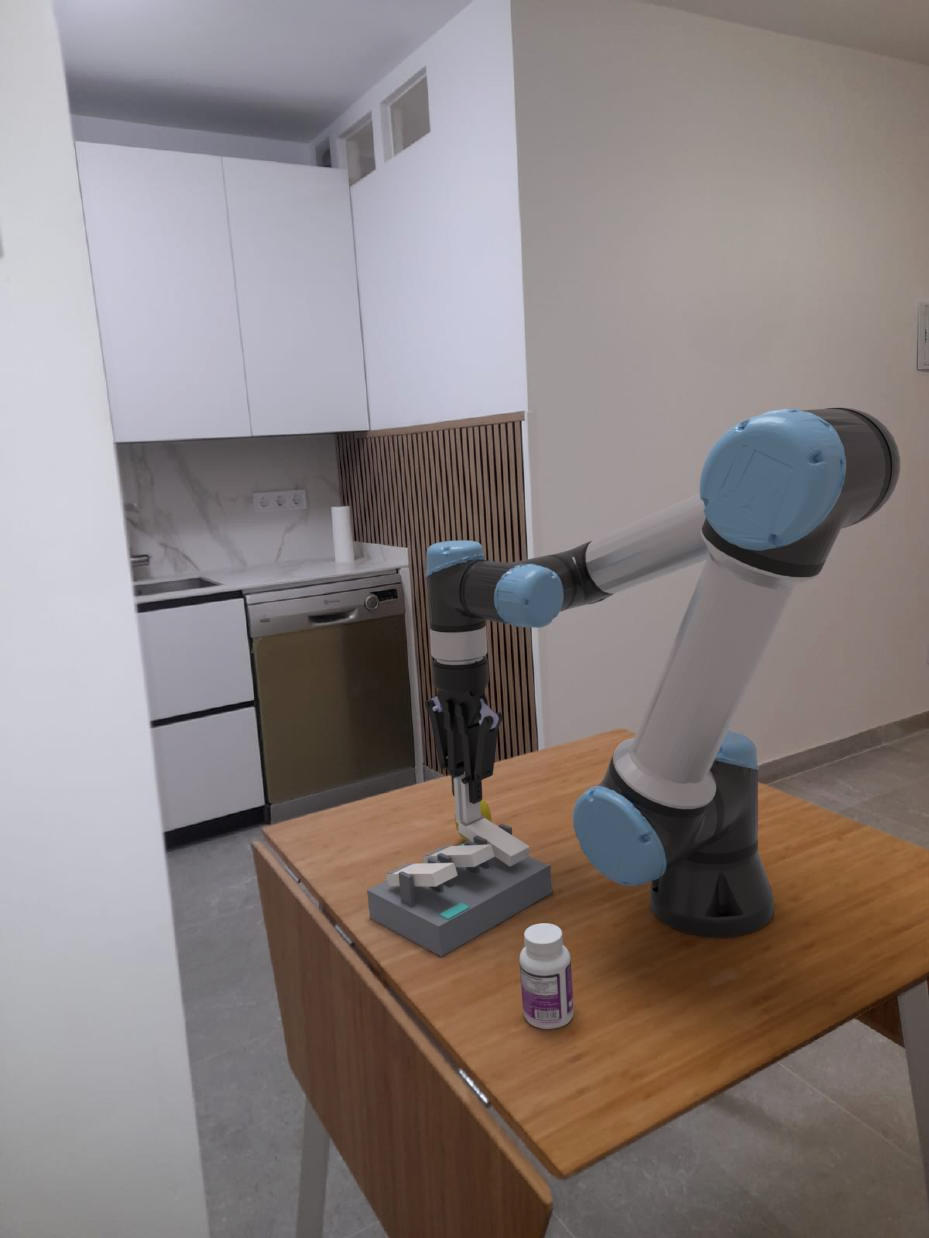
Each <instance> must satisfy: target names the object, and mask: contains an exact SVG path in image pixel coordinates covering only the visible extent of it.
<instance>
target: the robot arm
mask: <svg viewBox="0 0 929 1238" xmlns="http://www.w3.org/2000/svg"><path fill="white" fill-rule="evenodd" d="M896 442H897V441H896V440H895V437H894V436H893V434H892V433H891V432H890V430H889V429H888V427H887V426H885V424H883V423H882V421H880V420H879V419H878V418H876V417H874V416H873V415H871V414H870V413H867V412H866V411H865V412H864V411H861V410H858V409H855V408H849V407H828V408H819V409H818V408H817V409H804V410H803V409H802V410H801V409H797V408H796V409H795V408H783V409H776V410H771V411H767V412H764V413H760V415H756V416H752V417H749V418H747V419H744V420H742V421H740V422H738V423H737V424H735V425H734V426H732V427H730V428H729V429H728V430H727V431H726V432H725V433H723V434H722V435H721V437H720V438H719V439H718V440H717V441H716V443H714V445H713V446H712V448H711V450H710V451H709V452H708V454H707V457H706V459H705V461H704V463H703V466H702V470H701V472H700V474H701V475H700V478H699V493H697V494H693V495H692V496H689V497H688V498H684V499H682V500H681V501H678V502H676V503H673V504H671V505H669V506H667V507H664V508H662V509H660V510H657V511H656V512H654V513H651V514H648V515H647V516H644V517H642V518H640V519H637V520H635V521H633V522H630V523H628V524H626V525H624V526H622V527H620V528H617V529H615V530H612V531H610V532H607V533H606V534H603V535H601V536H599V537H596V538H594V539H592V540H590V541H587V542H585V543H583V544H581V545H578V546H576V547H574V548H571V549H568V550H565V551H562V552H557V553H553V554H547V555H543V556H537V557H532V558H529V559H523V560H519V561H512V562H503V561H491V560H486V559H485V554H484V549H483V546H482V544H481V543H480V542H478V541H474V540H465V539H464V540H446V541H440V542H436V543H434V544H433V543H432V545H430V546H429V547H427V551H426V555H425V556H426V557H425V558H426V562H425V563H426V566H425V567H426V571H425V572H426V573H425V579H426V589H427V603H428V616H429V617H428V618H429V635H430V637H429V640H430V641H429V642H430V656H432V658H434V659H433V661H432V662H431V667H432V684H433V687H434V688H435V689H437V691H436V696H435V697H433V698H430V699H426V700H425V701H424V705H425V708H426V711H427V712H428V715H429V717H430V722H431V728H432V732H433V737H434V738H433V739H434V744H435V748H436V753H437V758H438V764H439V767H440V768H441V769H442V770H444V769H446V770H447V771H448V775H449V776H450V777H451V788H452V789H451V791H452V796H453V797H454V809H455V813H456V822H457V823H459V822H460V821H462V820H463V822H465V823H466V824H468V823H470V822H472V821H474V820H477V819H479V818H481V807H480V801H482V799H483V780H486V779H487V778H491V777H492V776H493V774H494V770H495V769H494V767H495V759H496V753H497V752H496V751H497V749H496V748H497V742H498V741H497V740H498V732H499V727H500V725H501V723H502V721H503V715H502V714H503V713H501V712H499V711H498V712H494V711H493V710H492V709H491V708H490V707H489V701H488V698H487V695H486V688H487V686H488V685H489V682H490V673H489V660H488V658H487V656H486V655H487V654H488V642H487V641H488V640H487V639H488V638H487V637H488V636H487V621H489V622H495V623H501V624H504V625H511V626H513V627H517V628H521V629H522V628H524V629H525V628H534V629H535V628H537V629H540V628H544V627H547V626H549V625H550V624H551V623H553V622H552V621H553V620H554V619H555V618H557V617H558V616H559V614H560V613H561V612H564V611H566V610H570V609H574V608H579V607H582V606H585V605H593V604H596V603H600V602H603V601H605V600H607V599H608V598H610V597H612V596H613V595H614V594H617V593H620V592H623V591H626V590H628V589H630V588H634V587H636V586H638V585H642V584H645V583H648V582H650V581H652V580H655V579H658V578H661V577H663V576H666V575H669V574H672V573H674V572H677V571H680V570H683V569H685V568H688V567H690V566H694V565H696V564H699V563H702V562H704V561H705V562H704V564H703V565H704V566H703V568H702V570H701V572H700V575H699V577H698V581H697V582H696V584H695V588H694V590H693V592H692V595H691V597H690V600H689V602H688V605H687V608H686V610H685V612H684V615H683V617H682V619H681V622H680V625H679V627H678V630H677V633H676V634H675V637H674V639H673V643H672V645H671V646H670V647H671V648H670V649H669V651H668V655H667V657H666V659H665V662H664V664H663V667H662V670H661V672H660V675H659V677H658V679H657V682H656V684H655V686H654V689H653V692H652V694H651V697H650V699H649V701H648V703H647V707H646V709H645V712H644V713H643V716H642V719H641V721H640V724H639V726H638V729H637V730H636V731H637V732H636V734H635V736H634V737H630V738H626V739H625V740H623V741H621V742H620V743H619V744H618V745H617V746H616V748H615V749H614V752H613V754H612V756H611V758H610V760H609V764H608V766H607V768H606V772H605V774H604V776H603V778H602V780H601V782H599V784H598V785H594V786H591V787H588V788H587V789H586V790H585V791H584V792H583V793H582V794H581V795H580V796H579V797H578V799H577V800H576V802H575V804H574V807H573V813H572V824H573V825H572V826H573V830H574V833H575V837H576V838H577V839H576V840H578V842H579V845H580V849H581V851H582V852H583V854H584V856H585V857H586V858H587V859H588V861H589V863H590V864H591V865H592V866H593V867H594V868H595V869H596V870H597V871H598V872H599V873H600V874H602V875H603V876H604V877H606V878H607V879H609V880H610V881H612V882H614V883H615V884H618V885H621V886H625V887H639V886H643V885H646V884H648V883H649V882H650V885H649V905H650V906H649V907H650V909H651V911H652V912H653V914H654V916H655V917H656V918H657V919H658V920H659V921H660V922H662V923H663V924H664V925H667V926H669V927H670V928H673V929H675V930H677V931H680V932H683V933H686V934H690V935H694V936H701V937H709V938H731V937H738V936H744V935H747V934H750V933H754V932H756V931H759V930H760V929H762V928H764V927H765V926H766V925H768V924H769V922H771V920H772V918H773V915H774V893H773V892H774V891H773V888H772V887H771V885H770V882H769V878H768V876H767V873H766V870H765V866H764V864H763V860H762V859H761V856H760V853H759V770H760V766H759V764H758V755H757V754H758V753H757V747H756V744H755V743H754V741H753V740H751V738H749V737H747V736H746V735H744V734H742V733H739V732H736V731H733V730H730V728H731V725H732V723H733V721H734V720H735V717H736V714H737V712H738V710H739V708H740V707H741V706H740V705H741V704H742V701H743V700H744V698H745V695H746V693H747V692H748V689H749V687H750V685H751V682H752V681H753V678H754V676H755V673H756V672H757V669H758V666H759V665H760V664H761V661H762V658H763V656H764V654H765V652H766V650H767V647H768V645H769V644H770V641H771V640H772V637H773V634H774V632H775V630H776V628H777V626H778V624H779V622H780V620H781V617H782V616H783V613H784V610H785V608H786V606H787V604H788V602H789V600H790V598H791V596H792V593H793V591H794V590H795V587H796V586H797V585H799V584H802V583H805V582H808V581H811V580H813V579H815V578H817V577H819V575H820V573H821V572H822V570H823V568H824V565H825V564H826V562H827V559H828V558H829V557H828V556H829V555H830V553H831V551H832V548H833V546H834V545H835V542H836V540H837V538H838V536H839V534H840V532H841V530H842V529H845V528H848V527H850V526H854V525H857V524H859V523H861V522H863V521H866V520H868V519H869V518H870V517H872V516H873V515H875V514H876V513H878V512H879V511H880V510H881V509H882V508H883V507H884V505H886V503H887V502H888V501H889V500H890V499H891V496H892V495H893V493H894V492H895V491H896V487H897V484H898V481H899V477H900V473H901V458H900V457H901V456H900V451H899V447H898V445H897V443H896Z"/></svg>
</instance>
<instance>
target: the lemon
mask: <svg viewBox="0 0 929 1238" xmlns="http://www.w3.org/2000/svg"><path fill="white" fill-rule="evenodd" d="M480 807H481V815H482V816H484V817H485V818H486V819H487V820H489V821H490V822H492V823H493V821H492V820H493V819H492V813H491V809H490V807H489V804H488V803H487V802H486V800H485V799H483V798H482V801H480ZM454 815H455V816H454V823H455V827H456V831H457V832H458V827H459V823H457V822H456V812H455V813H454ZM458 834H459V836H460V837H461V838H462V839H463V840H465V841H466V840H469V839H468V838H466V837H465V836H464V835H462V834H461V833H459V832H458Z"/></svg>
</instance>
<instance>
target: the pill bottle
mask: <svg viewBox="0 0 929 1238" xmlns="http://www.w3.org/2000/svg"><path fill="white" fill-rule="evenodd" d="M523 933H524V934H523V936H524V937H523V939H524V940H523V941H524V947H523V948H522V950H521V952H520V954H519V973H520V986H521V987H520V989H521V1001H522V1003H521V1004H522V1009H523V1010H522V1011H523V1016H524V1018H525V1020H526V1022H528V1023H529V1024H530V1025H531V1026H533V1027H535V1028H538V1029H542V1030H552V1029H553V1030H554V1029H558V1028H562V1027H564V1026H566V1025H567V1024H569V1023H570V1021H571V1020H572V1018H573V1017H574V1013H575V1012H574V994H573V993H574V991H573V989H574V988H573V978H572V977H573V975H572V973H573V972H572V957H571V954H570V952H569V950H568V948H567V947H566V946H565V945H564V937H563V936H564V935H563V931H562V929H561V928H560V927H559V926H558V925H555V924H552V923H545V922H544V923H543V922H542V923H536V924H532V925H530V926H529V927H527V928H526V929H525V931H524V932H523Z"/></svg>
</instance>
